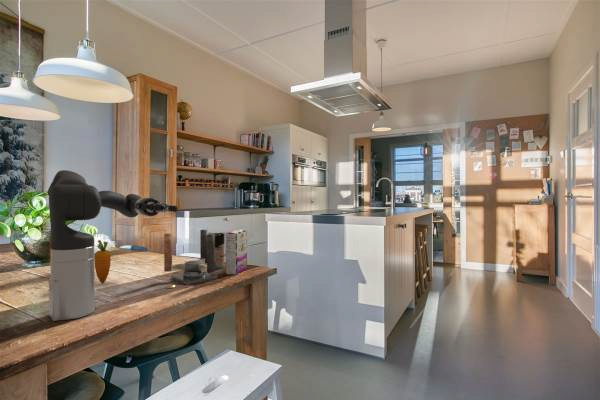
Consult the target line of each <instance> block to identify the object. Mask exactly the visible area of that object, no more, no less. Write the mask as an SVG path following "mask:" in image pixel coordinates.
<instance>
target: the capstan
mask: <svg viewBox="0 0 600 400" xmlns="http://www.w3.org/2000/svg"><path fill="white" fill-rule="evenodd" d="M199 235H200V240H199V242H200V249H199V251H200V252H199V253H200V254H199V255H200V259H197V260H189V261H185V262H184V263H183V262H182V263H173V233H169V232H168V233H164V234H163V241H164V242H163V243H164V244H163V247H164V249H163V250H164V251H163V253H164V254H163V255H164V256H163V259H164V260H163V263H164V264H163V265H164V266H163V267H164V268H163V271H164V272H165V273H167V272H168V273H169V272H175V271H183V270H185V271H189V272H194V271H204V272H207V273H211V274H214V273H215V270H216V269H215V234H208V229H200V234H199Z"/></svg>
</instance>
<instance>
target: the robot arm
mask: <svg viewBox="0 0 600 400" xmlns="http://www.w3.org/2000/svg"><path fill="white" fill-rule="evenodd" d="M47 195H48V208H49V209H48V210H49V221H50V222H49V223H50V277H49V278H48V301H49V302H48V305H49V306H48V310H49V311H48V312H49V313H48V314H49V317H50V319H51V320H52V321H53V322H55V321H65V320H67V321H68V320H72V319H73V320H74V319H78V318H79V319H80V318H82V317H86V316H88V315H91V314H92V313H94V312H95V308H96V306H95V304H96V300H95V299H96V297H95V293H96V292H95V284H96V283H95V279H96V278H95V258H94V255H95V236H94V235H93V234H91V233H87V232H82V231H78V230H77V229H74V228H71V227H70V226H68V225H67V223H66V222H68V221H69V222H70V221H89V220H93V219H95V218H96V217H98V216H99V214H100V211H101V209H102V208H107V209H110V210H114V211H117V212H119V213H120V214H122V215H123V216H125V217H126V218H136V217H137V216H138V215H141V216H146V217H154V216H155V217H156V216H157V215H158V214H159V213H168V212H170V213H172V212H173V213H176V212H177V211H178V206H177V205H173V204H172V205H170V204H168V203H162V202H160V201H159V200H158V199H157V198H154V197H142V196H140V195H138V194H137V193H136V194H134V193H128V194H127V195H126V196H125V195H123V194H121V193H118V192H115V191H111V190H100V191H99V190H98V189H97V188H96V187H95V186H93V185H89V184H88V183H87V180H86V179H85V178H84V176H82V175H81V174H79V173H78V172H74V171H71V170H66V169H65V170H64V169H63V170H59V171H58V172H56V174H55V175H54V178H53V179H52V182H51V183H50V185H49V188H48V190H47Z"/></svg>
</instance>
